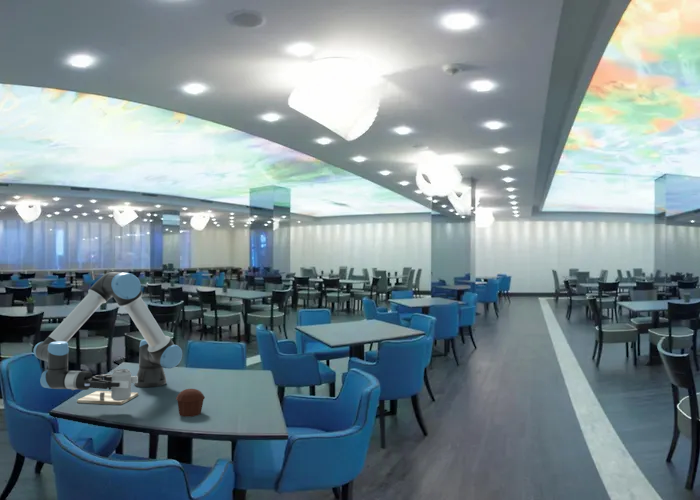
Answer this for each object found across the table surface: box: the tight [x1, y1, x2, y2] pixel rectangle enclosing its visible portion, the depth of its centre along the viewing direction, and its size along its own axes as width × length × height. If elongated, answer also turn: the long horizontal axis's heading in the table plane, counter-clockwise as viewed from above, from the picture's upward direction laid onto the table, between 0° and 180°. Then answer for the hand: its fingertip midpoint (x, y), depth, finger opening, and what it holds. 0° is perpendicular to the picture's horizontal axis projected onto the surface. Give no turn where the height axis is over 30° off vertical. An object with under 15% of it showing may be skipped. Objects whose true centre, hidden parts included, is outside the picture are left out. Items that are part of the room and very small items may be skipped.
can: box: [111, 368, 132, 401], centre depth 214 cm, size 8×8×12 cm
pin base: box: [76, 390, 139, 406], centre depth 233 cm, size 16×20×4 cm
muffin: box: [175, 388, 205, 418], centre depth 215 cm, size 12×11×10 cm
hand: (132, 382), depth 214 cm, fingers closed on can, 7 cm apart
